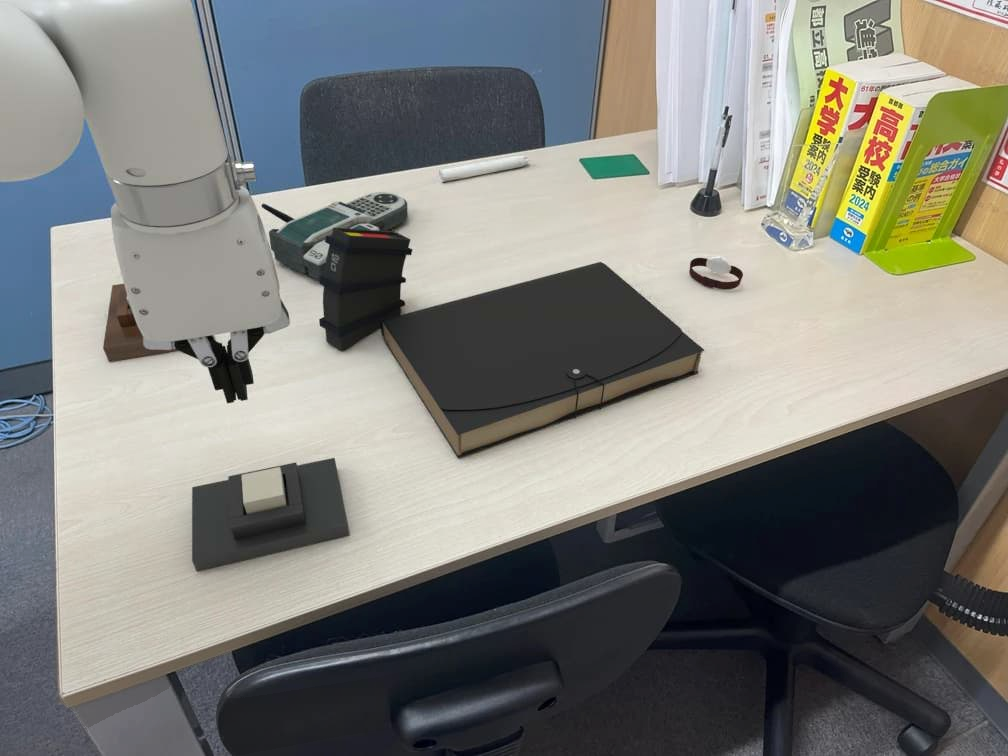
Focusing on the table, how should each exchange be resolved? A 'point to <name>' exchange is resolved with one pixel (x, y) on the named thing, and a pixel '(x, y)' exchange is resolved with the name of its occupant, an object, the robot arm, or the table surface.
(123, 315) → the brown switch frame
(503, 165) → the marker
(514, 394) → the file folder
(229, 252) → the robot arm
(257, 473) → the near key
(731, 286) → the watch
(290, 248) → the communication device
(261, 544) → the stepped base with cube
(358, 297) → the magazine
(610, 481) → the table surface
